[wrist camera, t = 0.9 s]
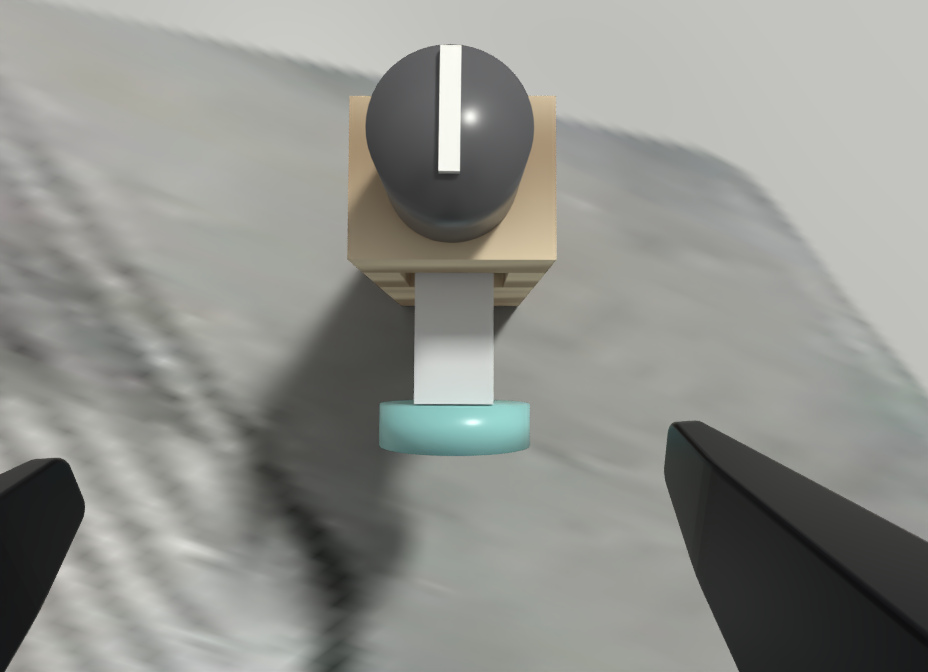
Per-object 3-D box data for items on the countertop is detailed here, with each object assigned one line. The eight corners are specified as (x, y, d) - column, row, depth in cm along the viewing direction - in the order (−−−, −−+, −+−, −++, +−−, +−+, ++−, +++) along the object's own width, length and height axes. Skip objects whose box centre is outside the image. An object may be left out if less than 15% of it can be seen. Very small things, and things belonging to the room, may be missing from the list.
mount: (518, 305, 25) (556, 259, 14) (401, 305, 25) (347, 259, 14) (518, 213, 25) (556, 95, 14) (402, 213, 25) (349, 96, 14)
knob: (522, 435, 19) (537, 456, 15) (390, 434, 20) (366, 455, 15) (522, 260, 20) (537, 230, 15) (391, 260, 20) (369, 230, 15)
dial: (518, 244, 14) (534, 209, 11) (384, 241, 14) (362, 206, 11) (519, 112, 14) (536, 41, 11) (387, 110, 14) (365, 38, 11)
